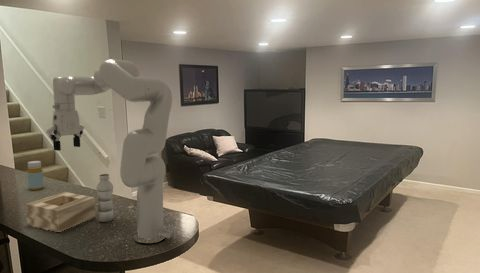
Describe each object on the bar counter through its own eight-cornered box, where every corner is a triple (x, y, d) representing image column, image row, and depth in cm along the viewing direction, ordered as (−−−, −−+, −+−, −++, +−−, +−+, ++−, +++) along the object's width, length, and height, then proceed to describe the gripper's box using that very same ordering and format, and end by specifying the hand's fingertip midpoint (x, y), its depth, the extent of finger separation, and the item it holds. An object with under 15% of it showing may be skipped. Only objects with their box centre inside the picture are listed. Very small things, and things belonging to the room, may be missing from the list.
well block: (95, 217, 148) (94, 197, 146) (59, 233, 131) (57, 211, 130) (65, 210, 154) (64, 191, 153) (27, 225, 138) (25, 203, 137)
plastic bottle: (97, 219, 146) (95, 173, 143) (114, 217, 148) (112, 172, 145) (97, 224, 140) (95, 177, 137) (114, 222, 142) (112, 176, 139)
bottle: (30, 187, 188) (28, 160, 186) (44, 186, 190) (43, 160, 188) (27, 191, 182) (25, 163, 180) (41, 190, 184) (40, 163, 182)
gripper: (52, 108, 130) (55, 152, 132) (88, 106, 146) (90, 146, 148) (39, 108, 133) (42, 151, 135) (75, 106, 149) (77, 144, 151)
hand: (67, 148), depth 142 cm, fingers open, 9 cm apart
